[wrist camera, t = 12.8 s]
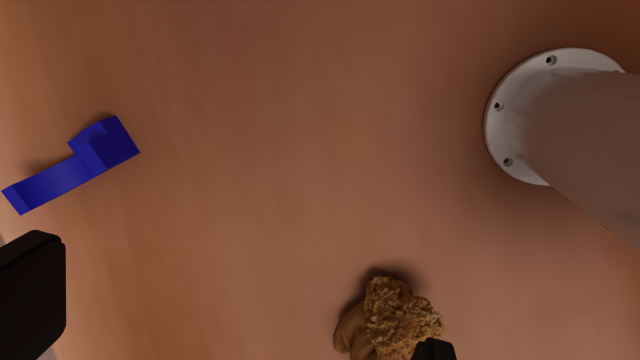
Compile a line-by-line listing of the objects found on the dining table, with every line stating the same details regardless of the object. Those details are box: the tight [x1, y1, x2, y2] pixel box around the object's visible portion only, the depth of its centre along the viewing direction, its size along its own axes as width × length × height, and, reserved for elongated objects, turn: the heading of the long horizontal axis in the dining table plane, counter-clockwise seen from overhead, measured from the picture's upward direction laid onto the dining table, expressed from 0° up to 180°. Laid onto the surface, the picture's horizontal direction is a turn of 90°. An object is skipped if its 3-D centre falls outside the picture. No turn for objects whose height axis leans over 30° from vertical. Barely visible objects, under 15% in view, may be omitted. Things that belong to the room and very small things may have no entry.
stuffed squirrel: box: [334, 276, 447, 360], centre depth 39 cm, size 10×14×13 cm
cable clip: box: [1, 116, 140, 215], centre depth 40 cm, size 12×4×6 cm, turn 117°
